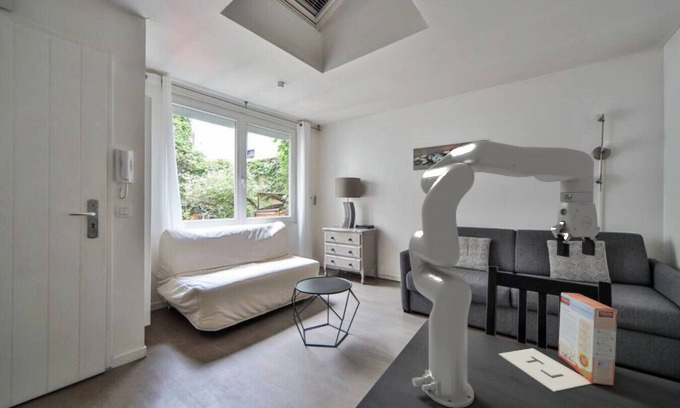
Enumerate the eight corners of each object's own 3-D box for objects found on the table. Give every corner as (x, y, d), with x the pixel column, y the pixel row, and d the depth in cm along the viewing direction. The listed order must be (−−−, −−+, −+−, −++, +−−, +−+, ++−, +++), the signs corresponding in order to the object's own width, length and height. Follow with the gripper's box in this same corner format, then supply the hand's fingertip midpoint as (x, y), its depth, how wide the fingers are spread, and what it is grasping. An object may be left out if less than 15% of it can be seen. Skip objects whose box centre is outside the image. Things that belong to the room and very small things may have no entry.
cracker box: (616, 387, 73) (618, 309, 73) (590, 384, 74) (593, 307, 73) (578, 357, 87) (580, 292, 86) (557, 355, 87) (559, 291, 87)
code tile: (553, 391, 71) (553, 390, 71) (498, 354, 88) (498, 353, 88) (593, 383, 74) (593, 382, 74) (532, 348, 92) (532, 348, 92)
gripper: (566, 198, 75) (566, 259, 75) (613, 198, 79) (612, 256, 79) (541, 198, 82) (540, 254, 83) (584, 199, 86) (584, 252, 86)
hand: (575, 255), depth 81 cm, fingers open, 9 cm apart
